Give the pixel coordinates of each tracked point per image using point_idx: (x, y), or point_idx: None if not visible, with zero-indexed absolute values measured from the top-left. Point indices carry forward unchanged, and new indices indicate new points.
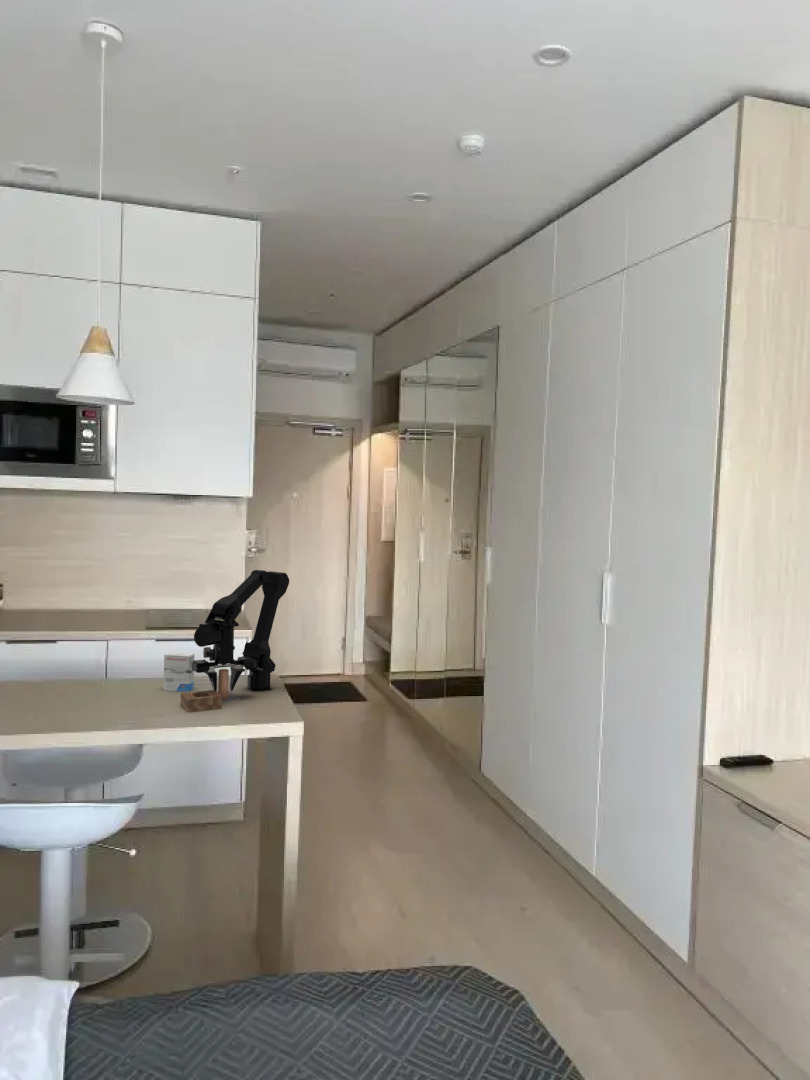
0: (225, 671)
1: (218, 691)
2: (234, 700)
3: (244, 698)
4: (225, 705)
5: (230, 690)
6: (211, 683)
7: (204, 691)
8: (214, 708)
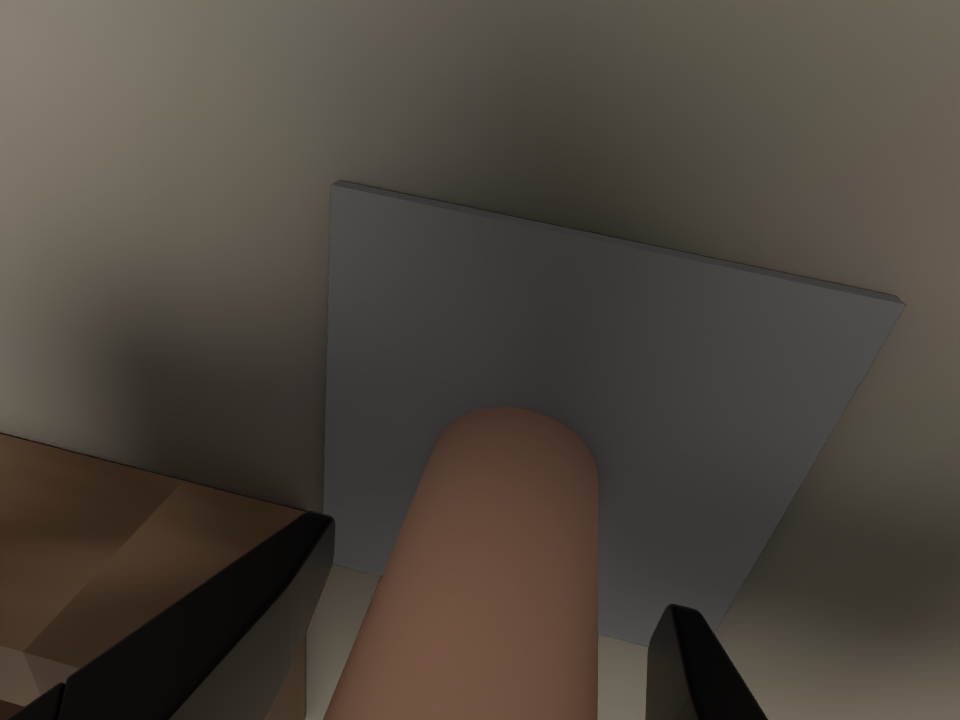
0: None
1: (389, 557)
2: (600, 631)
3: (854, 594)
4: None
5: (662, 616)
6: (122, 658)
7: (20, 674)
8: None
